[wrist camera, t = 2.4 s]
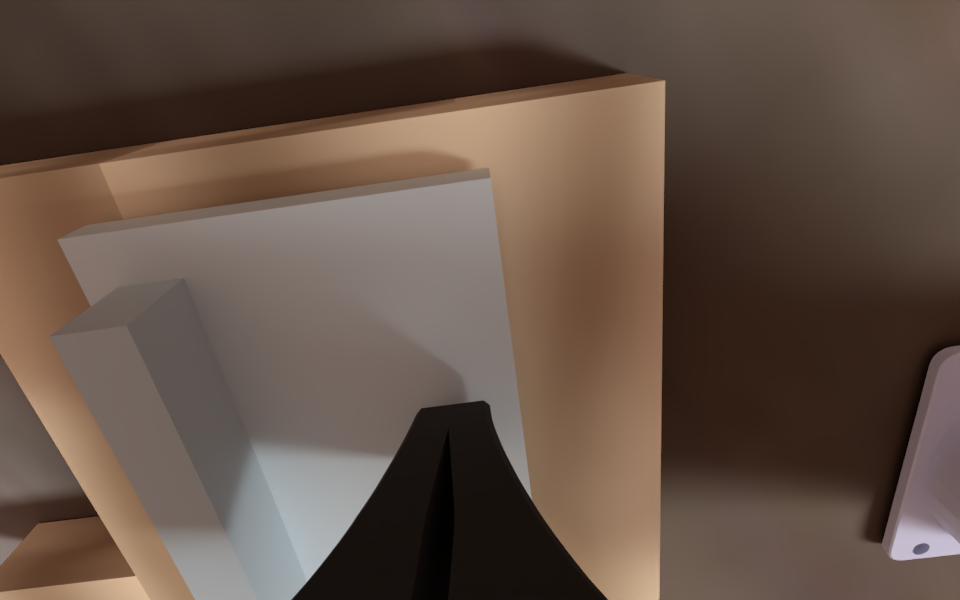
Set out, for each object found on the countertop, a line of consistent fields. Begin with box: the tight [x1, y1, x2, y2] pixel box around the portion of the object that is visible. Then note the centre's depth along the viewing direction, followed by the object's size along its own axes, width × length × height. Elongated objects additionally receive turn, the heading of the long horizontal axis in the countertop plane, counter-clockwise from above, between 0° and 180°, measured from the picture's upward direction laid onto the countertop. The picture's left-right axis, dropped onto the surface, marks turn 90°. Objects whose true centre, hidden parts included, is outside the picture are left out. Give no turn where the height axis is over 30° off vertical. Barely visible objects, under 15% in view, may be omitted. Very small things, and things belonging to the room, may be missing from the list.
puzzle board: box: [0, 73, 665, 600], centre depth 16 cm, size 18×24×2 cm
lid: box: [49, 168, 532, 600], centre depth 11 cm, size 8×10×3 cm
